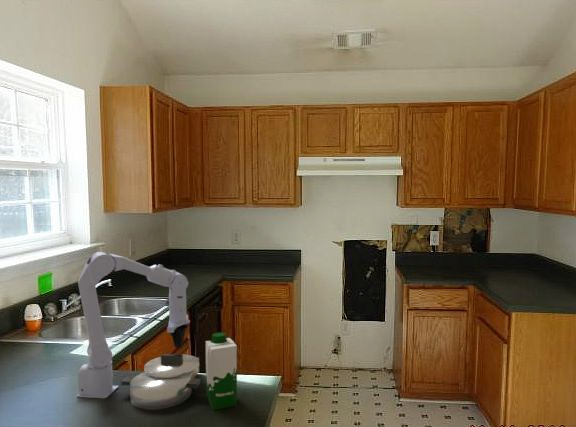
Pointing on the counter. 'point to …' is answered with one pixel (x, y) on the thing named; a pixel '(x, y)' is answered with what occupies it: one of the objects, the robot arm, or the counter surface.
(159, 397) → the cooker pot
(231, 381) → the milk carton
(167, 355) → the cooker lid
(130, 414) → the counter surface
